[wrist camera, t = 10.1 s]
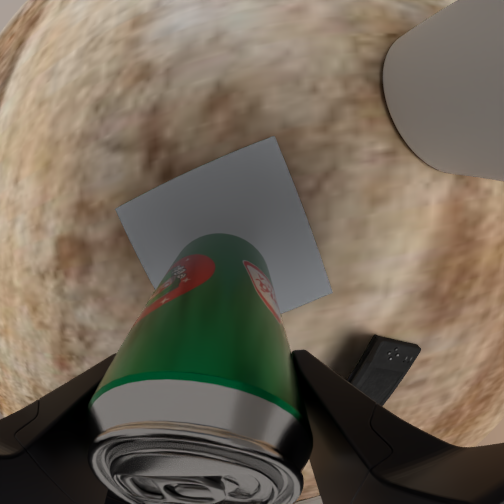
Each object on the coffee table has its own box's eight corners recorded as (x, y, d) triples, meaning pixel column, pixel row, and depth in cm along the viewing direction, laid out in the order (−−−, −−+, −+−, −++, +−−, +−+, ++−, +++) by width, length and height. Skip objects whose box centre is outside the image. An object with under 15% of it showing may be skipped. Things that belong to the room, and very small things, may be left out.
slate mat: (189, 342, 23) (188, 346, 22) (118, 207, 20) (115, 208, 19) (330, 289, 22) (332, 292, 21) (273, 136, 19) (274, 135, 18)
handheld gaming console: (385, 427, 26) (362, 484, 17) (330, 407, 30) (291, 455, 21) (425, 336, 24) (421, 376, 16) (360, 317, 28) (329, 346, 20)
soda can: (270, 315, 16) (312, 522, 5) (182, 321, 16) (124, 518, 5) (266, 226, 15) (340, 406, 3) (167, 234, 15) (24, 397, 3)
